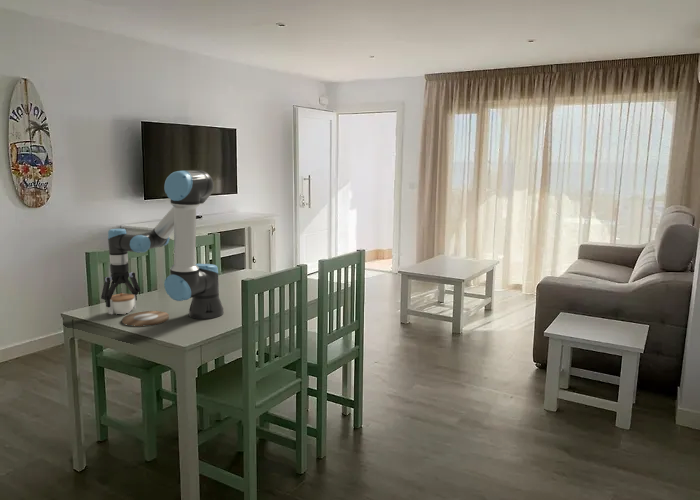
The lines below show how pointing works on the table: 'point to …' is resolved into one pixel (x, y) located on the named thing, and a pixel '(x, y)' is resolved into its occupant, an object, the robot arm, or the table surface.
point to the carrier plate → (146, 318)
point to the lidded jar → (122, 303)
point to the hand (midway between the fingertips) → (122, 310)
